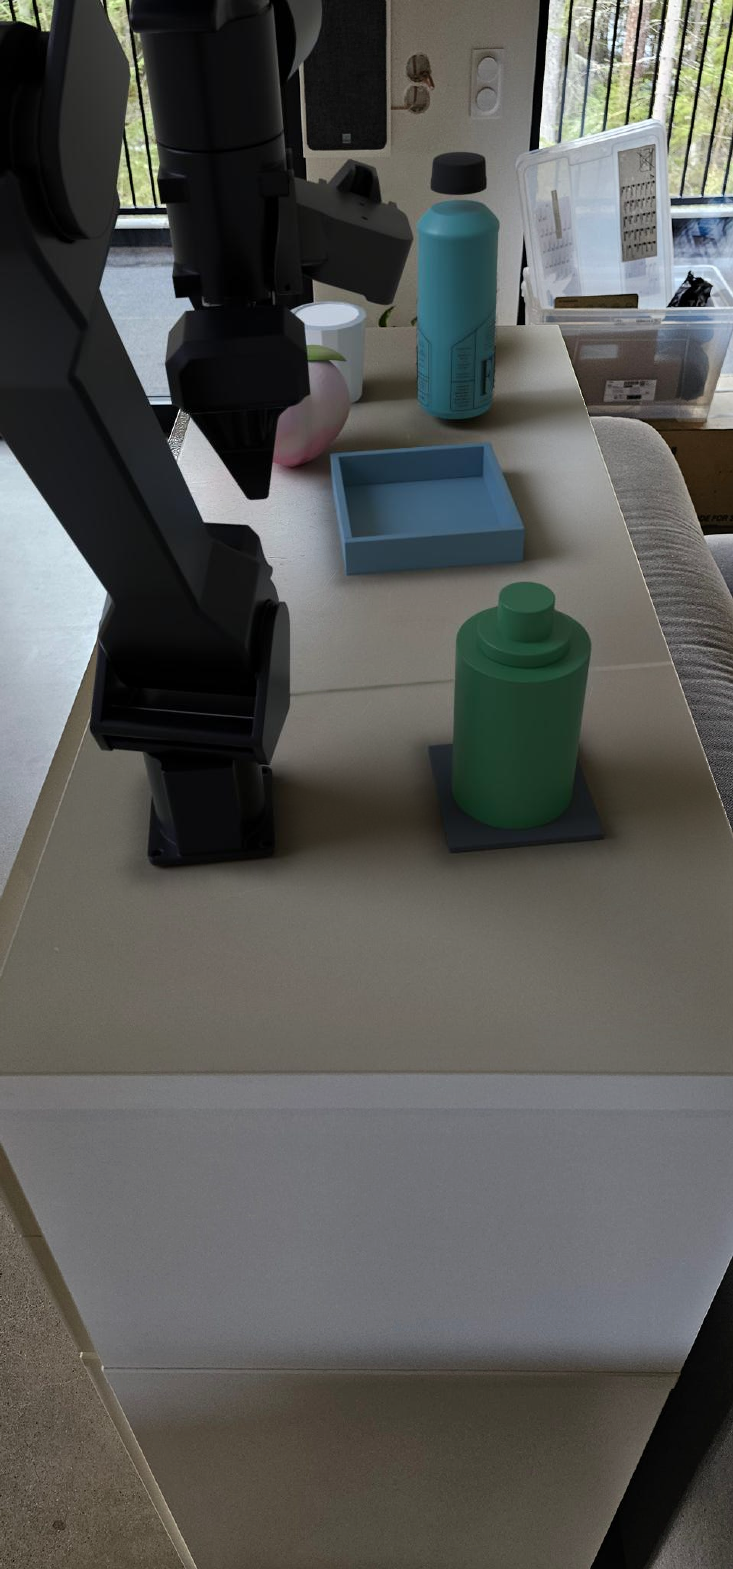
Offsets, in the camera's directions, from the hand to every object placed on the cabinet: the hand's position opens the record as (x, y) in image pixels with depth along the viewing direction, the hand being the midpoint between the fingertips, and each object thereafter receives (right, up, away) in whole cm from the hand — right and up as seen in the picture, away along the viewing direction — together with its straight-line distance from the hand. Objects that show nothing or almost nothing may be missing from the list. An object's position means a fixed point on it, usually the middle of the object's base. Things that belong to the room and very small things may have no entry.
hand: (257, 454), depth 60 cm
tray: (+10, +1, +20) cm, 23 cm away
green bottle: (+14, -18, -1) cm, 23 cm away
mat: (+14, -18, -1) cm, 23 cm away
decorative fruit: (0, +7, +28) cm, 29 cm away
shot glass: (+3, +16, +38) cm, 41 cm away
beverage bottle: (+13, +13, +33) cm, 38 cm away
